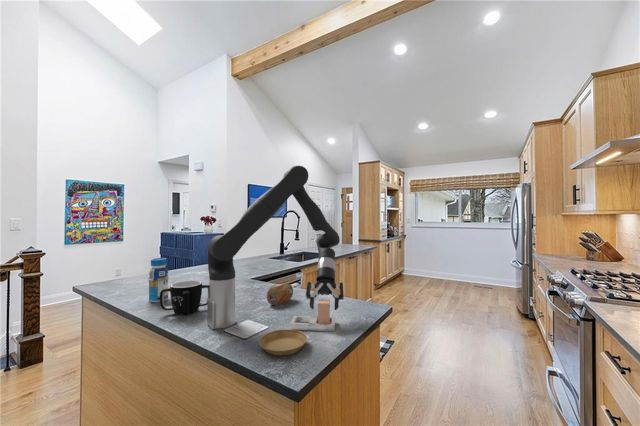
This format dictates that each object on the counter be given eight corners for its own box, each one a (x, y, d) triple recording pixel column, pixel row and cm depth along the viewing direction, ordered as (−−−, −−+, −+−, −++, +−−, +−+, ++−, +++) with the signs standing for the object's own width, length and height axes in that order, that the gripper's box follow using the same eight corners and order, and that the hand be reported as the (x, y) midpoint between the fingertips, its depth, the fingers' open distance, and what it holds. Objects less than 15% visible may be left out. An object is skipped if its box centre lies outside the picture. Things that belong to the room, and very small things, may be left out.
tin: (270, 307, 120) (270, 288, 121) (265, 306, 122) (265, 287, 122) (293, 299, 132) (293, 282, 133) (288, 298, 134) (288, 281, 134)
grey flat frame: (289, 329, 97) (289, 323, 97) (293, 320, 105) (293, 315, 105) (334, 331, 95) (334, 325, 95) (335, 322, 103) (335, 316, 103)
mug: (156, 314, 112) (156, 285, 112) (190, 303, 126) (190, 277, 126) (181, 321, 104) (181, 290, 105) (215, 309, 119) (215, 281, 119)
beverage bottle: (149, 298, 134) (150, 258, 135) (169, 296, 138) (169, 257, 138) (147, 303, 127) (147, 260, 127) (167, 301, 130) (168, 259, 130)
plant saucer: (250, 346, 85) (250, 337, 85) (289, 333, 94) (289, 325, 95) (274, 365, 74) (274, 356, 74) (316, 348, 83) (316, 340, 83)
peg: (329, 328, 97) (329, 303, 98) (318, 328, 98) (318, 303, 98) (329, 324, 101) (329, 300, 102) (319, 323, 102) (319, 299, 102)
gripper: (307, 265, 109) (303, 303, 97) (343, 266, 108) (343, 304, 96) (309, 276, 114) (305, 313, 103) (343, 276, 113) (343, 314, 101)
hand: (323, 308), depth 99 cm, fingers open, 8 cm apart
